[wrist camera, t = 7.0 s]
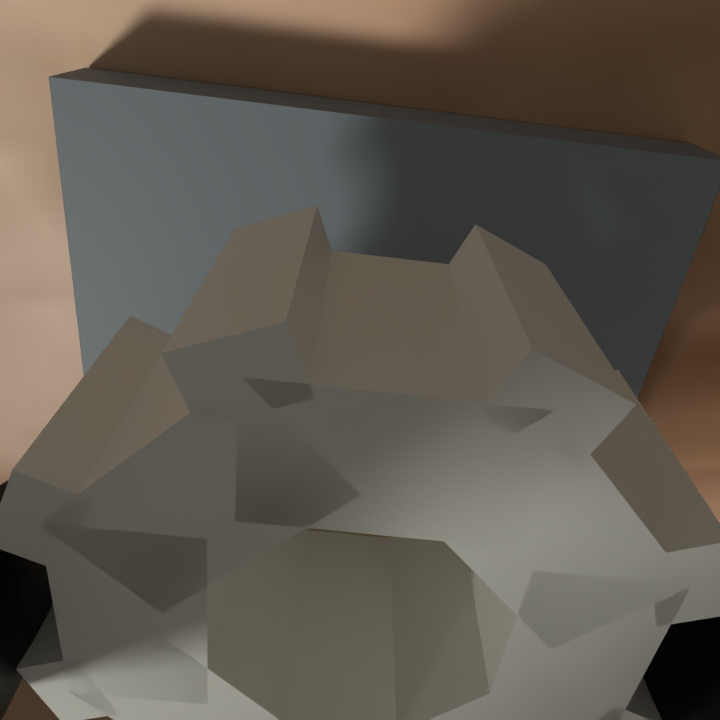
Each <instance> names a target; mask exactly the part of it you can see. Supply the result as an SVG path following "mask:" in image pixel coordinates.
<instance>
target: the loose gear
mask: <svg viewBox="0 0 720 720" xmlns="http://www.w3.org/2000/svg"><path fill="white" fill-rule="evenodd" d="M308 528H312V529H322V530H332V531H342V532H353V533H363V534H373V535H383V536H393V537H391V538H384V537H374V536H364V535H354V534H343V533H333V532H323V531H313V530H309V529H308ZM0 549H1V550H4V551H6V552H9V553H12V554H15V555H17V556H20V557H23V558H26V559H28V560H31V561H34V562H37V563H39V564H42V565H45V566H46V569H47V574H48V580H49V585H50V591H51V596H52V602H53V604H52V607H51V609H50V611H49V613H48V615H47V617H46V618H45V620H44V622H43V624H42V626H41V628H40V630H39V631H38V633H37V635H36V637H35V638H34V640H33V642H32V644H31V645H30V647H29V649H28V650H27V652H26V653H25V655H24V656H23V658H22V660H21V661H20V663H19V664H18V666H17V668H16V670H17V671H18V672H19V673H20V674H21V676H22V677H23V678H24V679H25V680H26V681H27V683H28V684H29V685H30V686H31V687H32V688H33V690H34V691H35V692H36V693H37V694H38V695H39V696H40V698H41V699H42V700H43V701H44V702H45V703H46V705H47V706H48V707H49V708H50V709H51V710H52V712H53V713H54V714H55V715H56V716H57V717H58V718H59V720H86V719H92V718H98V717H104V716H108V717H110V718H111V719H113V720H662V718H661V716H660V714H659V712H658V710H657V708H656V706H655V703H654V701H653V699H652V697H651V694H650V692H649V690H648V687H647V685H646V683H645V680H644V678H643V676H644V674H645V672H646V670H647V668H648V666H649V664H650V663H651V661H652V659H653V657H654V655H655V653H656V651H657V650H658V648H659V646H660V644H661V642H662V640H663V638H664V637H665V635H666V633H667V631H668V629H669V627H670V625H671V624H676V623H683V622H689V621H695V620H701V619H707V618H713V617H720V523H719V522H718V520H717V519H716V517H715V516H714V514H713V513H712V511H711V509H710V508H709V506H708V505H707V503H706V502H705V500H704V499H703V497H702V496H701V494H700V493H699V491H698V490H697V488H696V487H695V485H694V484H693V482H692V481H691V479H690V478H689V476H688V475H687V473H686V472H685V470H684V469H683V467H682V466H681V464H680V463H679V461H678V460H677V458H676V456H675V455H674V453H673V452H672V450H671V449H670V447H669V446H668V444H667V443H666V441H665V440H664V438H663V437H662V435H661V434H660V432H659V431H658V429H657V428H656V426H655V425H654V423H653V422H652V420H651V419H650V417H649V416H648V414H647V413H646V411H645V410H644V408H643V406H642V405H641V403H640V402H639V400H638V399H637V397H636V396H635V394H634V393H633V391H632V390H631V388H630V387H629V385H628V384H627V382H626V381H625V379H624V378H623V376H622V375H621V373H620V372H619V370H614V369H613V367H612V366H611V364H610V363H609V361H608V360H607V358H606V357H605V355H604V353H603V352H602V350H601V349H600V347H599V346H598V344H597V343H596V341H595V340H594V338H593V337H592V335H591V333H590V332H589V330H588V329H587V327H586V326H585V324H584V323H583V321H582V320H581V318H580V316H579V315H578V313H577V312H576V310H575V309H574V307H573V306H572V304H571V303H570V301H569V300H568V298H567V296H566V295H565V293H564V292H563V290H562V289H561V287H560V286H559V284H558V283H557V281H556V279H555V278H554V276H553V275H552V273H551V272H550V270H549V269H548V267H547V266H546V264H544V263H542V262H541V261H539V260H537V259H535V258H534V257H532V256H530V255H528V254H527V253H525V252H523V251H521V250H520V249H518V248H516V247H514V246H513V245H511V244H509V243H507V242H506V241H504V240H502V239H500V238H499V237H497V236H495V235H494V234H492V233H490V232H488V231H487V230H485V229H483V228H481V227H480V226H478V225H476V224H475V226H474V227H473V229H472V230H471V232H470V233H469V235H468V236H467V238H466V239H465V241H464V242H463V244H462V245H461V247H460V248H459V250H458V251H457V253H456V254H455V256H454V257H453V259H452V260H451V262H450V263H449V264H443V263H434V262H426V261H417V260H408V259H400V258H391V257H382V256H374V255H365V254H356V253H348V252H339V251H332V250H331V247H330V244H329V241H328V238H327V235H326V232H325V228H324V225H323V222H322V219H321V216H320V213H319V210H318V207H317V206H313V207H310V208H306V209H303V210H299V211H295V212H292V213H288V214H285V215H281V216H278V217H274V218H271V219H267V220H263V221H260V222H256V223H253V224H249V225H246V226H242V227H238V228H235V230H234V231H233V233H232V235H231V236H230V238H229V240H228V241H227V243H226V245H225V246H224V248H223V250H222V251H221V253H220V255H219V257H218V258H217V260H216V262H215V263H214V265H213V267H212V268H211V270H210V272H209V273H208V275H207V277H206V278H205V280H204V282H203V283H202V285H201V287H200V288H199V290H198V292H197V293H196V295H195V297H194V298H193V300H192V302H191V303H190V305H189V307H188V308H187V310H186V312H185V313H184V315H183V317H182V318H181V320H180V322H179V323H178V325H177V327H176V328H175V330H174V332H173V333H172V335H170V334H168V333H166V332H164V331H161V330H159V329H157V328H155V327H153V326H151V325H149V324H146V323H144V322H142V321H140V320H138V319H136V318H134V317H131V316H130V317H129V318H128V319H127V321H126V322H125V323H124V325H123V326H122V327H121V328H120V330H119V331H118V332H117V334H116V335H115V336H114V338H113V339H112V340H111V342H110V343H109V344H108V345H107V347H106V348H105V349H104V351H103V352H102V353H101V355H100V356H99V357H98V359H97V360H96V361H95V362H94V364H93V365H92V366H91V368H90V369H89V370H88V372H87V373H86V374H85V376H84V377H83V378H82V379H81V381H80V382H79V383H78V385H77V386H76V387H75V389H74V390H73V391H72V393H71V394H70V395H69V396H68V398H67V399H66V400H65V402H64V403H63V404H62V406H61V407H60V408H59V410H58V411H57V412H56V413H55V415H54V416H53V417H52V419H51V420H50V421H49V423H48V424H47V425H46V427H45V428H44V429H43V430H42V432H41V433H40V434H39V436H38V437H37V438H36V440H35V441H34V442H33V444H32V445H31V446H30V447H29V449H28V450H27V451H26V453H25V454H24V455H23V457H22V458H21V459H20V461H19V462H18V463H17V464H16V466H15V467H14V468H13V470H12V473H11V475H10V478H9V481H8V484H7V486H6V489H5V492H4V495H3V497H2V500H1V503H0Z"/></svg>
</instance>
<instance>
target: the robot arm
mask: <svg viewBox="0 0 720 720" xmlns="http://www.w3.org/2000/svg"><path fill="white" fill-rule="evenodd" d="M8 481H9V480H8ZM8 481H6V482H4V483H2V484H1V485H0V503H1V500H2V497H3V495H4V492H5V489H6V486H7V484H8ZM52 604H53V602H52V596H51V591H50V585H49V580H48V574H47V569H46V566H45V565H42V564H39V563H37V562H34V561H31V560H28V559H26V558H23V557H20V556H17V555H15V554H12V553H9V552H6V551H4V550H1V549H0V720H2V718H3V716H4V714H5V712H6V710H7V708H8V706H9V704H10V702H11V700H12V698H13V696H14V694H15V692H16V690H17V688H18V686H19V684H20V682H21V680H22V678H23V677H22V676H21V674H20V673H19V672H18V671H17V670H16V668H17V666H18V664H19V663H20V661H21V660H22V658H23V656H24V655H25V653H26V652H27V650H28V649H29V647H30V645H31V644H32V642H33V640H34V638H35V637H36V635H37V633H38V631H39V630H40V628H41V626H42V624H43V622H44V620H45V618H46V617H47V615H48V613H49V611H50V609H51V607H52ZM643 678H644V680H645V683H646V685H647V687H648V690H649V692H650V694H651V697H652V699H653V701H654V703H655V706H656V708H657V710H658V712H659V714H660V716H661V718H662V720H720V617H713V618H707V619H701V620H695V621H689V622H683V623H676V624H671V625H670V627H669V629H668V631H667V633H666V635H665V637H664V638H663V640H662V642H661V644H660V646H659V648H658V650H657V651H656V653H655V655H654V657H653V659H652V661H651V663H650V664H649V666H648V668H647V670H646V672H645V674H644V676H643Z"/></svg>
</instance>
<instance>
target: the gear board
mask: <svg viewBox="0 0 720 720" xmlns="http://www.w3.org/2000/svg"><path fill="white" fill-rule="evenodd" d="M49 82H50V91H51V99H52V108H53V117H54V125H55V134H56V142H57V151H58V159H59V168H60V176H61V185H62V193H63V202H64V211H65V219H66V228H67V236H68V245H69V253H70V262H71V270H72V279H73V287H74V296H75V305H76V313H77V322H78V330H79V339H80V347H81V356H82V364H83V373H84V376H85V374H86V373H87V372H88V370H89V369H90V368H91V366H92V365H93V364H94V362H95V361H96V360H97V359H98V357H99V356H100V355H101V353H102V352H103V351H104V349H105V348H106V347H107V345H108V344H109V343H110V342H111V340H112V339H113V338H114V336H115V335H116V334H117V332H118V331H119V330H120V328H121V327H122V326H123V325H124V323H125V322H126V321H127V319H128V318H129V317H130V316H131V317H134V318H136V319H138V320H140V321H142V322H144V323H146V324H149V325H151V326H153V327H155V328H157V329H159V330H161V331H164V332H166V333H168V334H170V335H172V333H173V332H174V330H175V328H176V327H177V325H178V323H179V322H180V320H181V318H182V317H183V315H184V313H185V312H186V310H187V308H188V307H189V305H190V303H191V302H192V300H193V298H194V297H195V295H196V293H197V292H198V290H199V288H200V287H201V285H202V283H203V282H204V280H205V278H206V277H207V275H208V273H209V272H210V270H211V268H212V267H213V265H214V263H215V262H216V260H217V258H218V257H219V255H220V253H221V251H222V250H223V248H224V246H225V245H226V243H227V241H228V240H229V238H230V236H231V235H232V233H233V231H234V230H235V228H238V227H242V226H246V225H249V224H253V223H256V222H260V221H263V220H267V219H271V218H274V217H278V216H281V215H285V214H288V213H292V212H295V211H299V210H303V209H306V208H310V207H313V206H317V207H318V210H319V213H320V216H321V219H322V222H323V225H324V228H325V232H326V235H327V238H328V241H329V244H330V247H331V250H332V251H339V252H348V253H356V254H365V255H374V256H382V257H391V258H400V259H408V260H417V261H426V262H434V263H443V264H449V263H450V262H451V260H452V259H453V257H454V256H455V254H456V253H457V251H458V250H459V248H460V247H461V245H462V244H463V242H464V241H465V239H466V238H467V236H468V235H469V233H470V232H471V230H472V229H473V227H474V226H475V224H476V225H478V226H480V227H481V228H483V229H485V230H487V231H488V232H490V233H492V234H494V235H495V236H497V237H499V238H500V239H502V240H504V241H506V242H507V243H509V244H511V245H513V246H514V247H516V248H518V249H520V250H521V251H523V252H525V253H527V254H528V255H530V256H532V257H534V258H535V259H537V260H539V261H541V262H542V263H544V264H546V266H547V267H548V269H549V270H550V272H551V273H552V275H553V276H554V278H555V279H556V281H557V283H558V284H559V286H560V287H561V289H562V290H563V292H564V293H565V295H566V296H567V298H568V300H569V301H570V303H571V304H572V306H573V307H574V309H575V310H576V312H577V313H578V315H579V316H580V318H581V320H582V321H583V323H584V324H585V326H586V327H587V329H588V330H589V332H590V333H591V335H592V337H593V338H594V340H595V341H596V343H597V344H598V346H599V347H600V349H601V350H602V352H603V353H604V355H605V357H606V358H607V360H608V361H609V363H610V364H611V366H612V367H613V369H614V370H619V372H620V373H621V375H622V376H623V378H624V379H625V381H626V382H627V384H628V385H629V387H630V388H631V390H632V391H633V393H634V394H635V396H636V397H637V398H638V395H639V393H640V390H641V388H642V385H643V383H644V380H645V378H646V375H647V372H648V370H649V367H650V365H651V362H652V360H653V357H654V355H655V352H656V350H657V347H658V344H659V342H660V339H661V337H662V334H663V332H664V329H665V327H666V324H667V322H668V319H669V317H670V314H671V311H672V309H673V306H674V304H675V301H676V299H677V296H678V294H679V291H680V289H681V286H682V284H683V281H684V278H685V276H686V273H687V271H688V268H689V266H690V263H691V261H692V258H693V256H694V253H695V250H696V248H697V245H698V243H699V240H700V238H701V235H702V233H703V230H704V228H705V225H706V223H707V220H708V217H709V215H710V212H711V210H712V207H713V205H714V202H715V200H716V197H717V195H718V192H719V190H720V157H719V156H717V155H715V154H713V153H711V152H709V151H706V150H704V149H702V148H700V147H698V146H696V145H693V144H691V143H684V142H676V141H668V140H660V139H652V138H644V137H636V136H628V135H620V134H612V133H604V132H596V131H588V130H580V129H572V128H564V127H556V126H548V125H540V124H532V123H524V122H516V121H508V120H500V119H492V118H484V117H476V116H468V115H461V114H453V113H445V112H437V111H429V110H421V109H413V108H405V107H397V106H389V105H381V104H373V103H365V102H357V101H349V100H341V99H333V98H325V97H317V96H309V95H301V94H293V93H285V92H277V91H269V90H261V89H253V88H245V87H237V86H229V85H221V84H213V83H205V82H197V81H189V80H181V79H173V78H165V77H157V76H149V75H141V74H133V73H125V72H117V71H109V70H101V69H93V68H83V69H79V70H75V71H70V72H66V73H62V74H58V75H54V76H50V77H49ZM308 529H309V530H313V531H323V532H333V533H343V534H354V535H364V536H374V537H384V538H391V537H393V536H383V535H373V534H363V533H353V532H342V531H332V530H322V529H312V528H308Z"/></svg>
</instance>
